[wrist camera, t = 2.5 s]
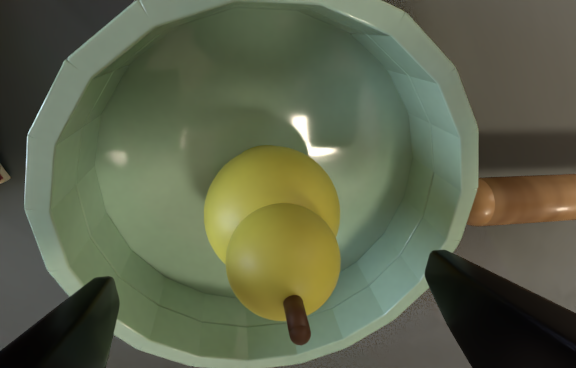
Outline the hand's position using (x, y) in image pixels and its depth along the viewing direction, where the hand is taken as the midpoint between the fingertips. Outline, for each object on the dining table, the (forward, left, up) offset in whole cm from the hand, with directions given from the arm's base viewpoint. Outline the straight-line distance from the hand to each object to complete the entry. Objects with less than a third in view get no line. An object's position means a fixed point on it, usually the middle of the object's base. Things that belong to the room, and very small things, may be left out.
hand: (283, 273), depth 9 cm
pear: (0, 0, -6) cm, 6 cm away
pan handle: (0, -14, -4) cm, 14 cm away
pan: (0, 0, -6) cm, 7 cm away
